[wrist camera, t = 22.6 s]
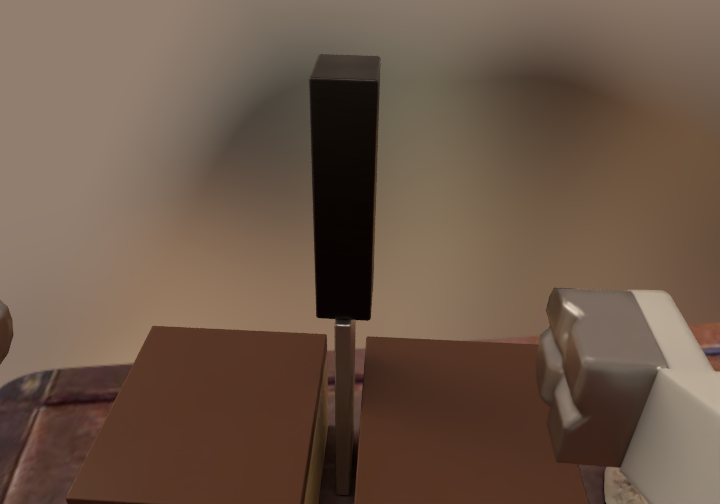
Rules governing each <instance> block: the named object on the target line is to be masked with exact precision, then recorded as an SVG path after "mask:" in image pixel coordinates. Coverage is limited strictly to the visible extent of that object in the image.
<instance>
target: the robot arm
mask: <svg viewBox="0 0 720 504" xmlns="http://www.w3.org/2000/svg"><path fill="white" fill-rule="evenodd" d="M546 312H547V316H548V319H549V323H550V327H549V328H548V329H546V330H545V331H544V332H543V333H542V334H540V338H539V343H538V348H537V356H536V378H537V386H538V391H539V395H540V399H541V400H542V401H543V402H545V403H546V404H547V405H548V406H549V407H550V410H549V414H548V418H547V422H546V424H547V428H548V432H549V436H550V440H551V444H552V448H553V452H554V456H555V460H556V462H558V463H570V464H582V465H593V466H605V467H616V468H620V470H619V471H620V472H621V473H622V474H623V475H624V476H625V477H626V479H627V480H628V481H629V482H630V483H631V484H632V485H633V486H634V487H635V488H636V489H637V491H638V492H639V493H640V494H641V495H642V496H643V497H644V498H645V499H646V500H647V502H648V503H649V504H720V372H716V371H714V369H713V368H712V366H711V364H710V363H709V361H708V359H707V357H706V356H705V354H704V352H703V351H702V349H701V347H700V345H699V344H698V342H697V340H696V339H695V337H694V335H693V334H692V332H691V330H690V328H689V327H688V325H687V323H686V322H685V320H684V318H683V316H682V315H681V313H680V311H679V310H678V308H677V306H676V305H675V303H674V301H673V299H672V298H671V296H670V295H669V294H668V293H666V292H665V291H663V290H661V291H660V290H626V291H618V290H595V289H571V288H554V289H553V290H552V293H551V294H550V296H549V301H548V304H547V308H546ZM12 338H13V324H12V317H11V315H10V312H9V309H8V306H6V305H5V304H4V303H3V302H2V301H1V300H0V364H1V363H2V361H3V360H4V358H5V357H6V355H7V354H8V351H9V348H10V344H11V341H12Z"/></svg>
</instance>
